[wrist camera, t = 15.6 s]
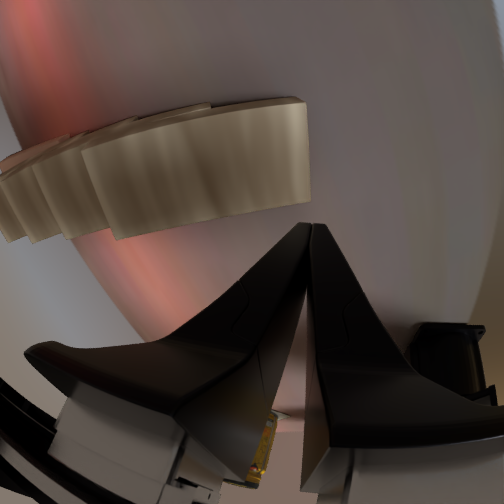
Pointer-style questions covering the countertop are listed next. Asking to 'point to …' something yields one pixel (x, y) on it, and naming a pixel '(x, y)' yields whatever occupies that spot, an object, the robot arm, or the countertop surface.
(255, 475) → the condiment
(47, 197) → the domino
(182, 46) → the countertop surface
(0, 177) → the domino
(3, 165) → the domino
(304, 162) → the domino
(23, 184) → the domino
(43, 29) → the countertop surface
